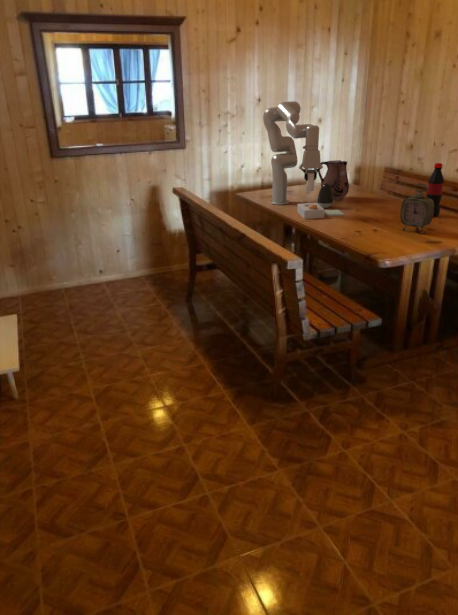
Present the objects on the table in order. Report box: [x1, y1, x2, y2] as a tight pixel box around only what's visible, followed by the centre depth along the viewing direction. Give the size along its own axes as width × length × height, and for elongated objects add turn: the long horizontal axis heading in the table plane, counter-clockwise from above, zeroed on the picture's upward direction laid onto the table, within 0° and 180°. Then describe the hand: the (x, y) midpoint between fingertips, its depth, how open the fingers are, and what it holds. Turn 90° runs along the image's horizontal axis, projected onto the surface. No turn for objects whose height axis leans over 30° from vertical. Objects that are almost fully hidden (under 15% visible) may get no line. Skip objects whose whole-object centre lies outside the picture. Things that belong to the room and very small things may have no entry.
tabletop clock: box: [399, 182, 434, 235], centre depth 262 cm, size 14×9×25 cm, turn 45°
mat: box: [324, 209, 345, 217], centre depth 306 cm, size 12×10×1 cm
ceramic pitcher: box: [317, 159, 350, 201], centre depth 337 cm, size 18×21×25 cm
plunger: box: [309, 205, 317, 209], centre depth 299 cm, size 5×5×6 cm
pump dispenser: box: [316, 183, 335, 209], centre depth 319 cm, size 10×10×15 cm
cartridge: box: [305, 169, 315, 192], centre depth 300 cm, size 4×4×12 cm
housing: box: [297, 202, 326, 220], centre depth 304 cm, size 18×12×5 cm, turn 6°
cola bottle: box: [426, 162, 445, 218], centre depth 289 cm, size 8×8×30 cm
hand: (310, 179), depth 300 cm, fingers closed on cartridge, 4 cm apart
